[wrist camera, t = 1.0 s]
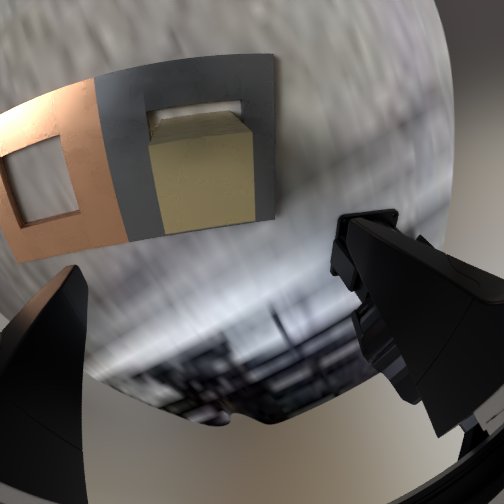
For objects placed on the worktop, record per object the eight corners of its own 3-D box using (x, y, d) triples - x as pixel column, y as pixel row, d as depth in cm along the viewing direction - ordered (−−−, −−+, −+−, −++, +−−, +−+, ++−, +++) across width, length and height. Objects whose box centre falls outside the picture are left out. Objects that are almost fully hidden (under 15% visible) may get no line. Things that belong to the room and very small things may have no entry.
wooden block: (229, 110, 17) (252, 132, 12) (232, 171, 20) (255, 220, 14) (160, 119, 16) (148, 145, 11) (169, 180, 19) (165, 234, 13)
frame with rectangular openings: (269, 54, 15) (273, 53, 15) (272, 214, 22) (274, 219, 22) (-24, 128, 12) (-29, 131, 11) (21, 257, 19) (17, 263, 18)
